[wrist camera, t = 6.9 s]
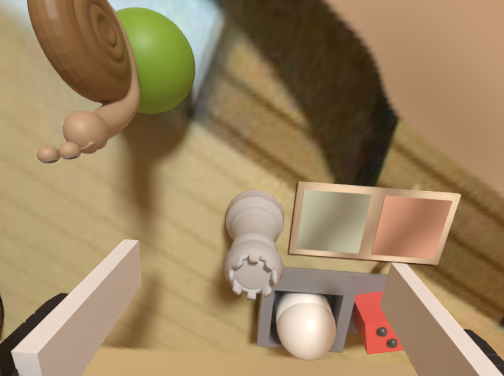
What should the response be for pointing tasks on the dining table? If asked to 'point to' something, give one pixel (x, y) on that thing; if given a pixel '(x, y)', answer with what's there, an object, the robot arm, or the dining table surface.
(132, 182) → the dining table surface
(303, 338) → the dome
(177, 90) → the snail figurine
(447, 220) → the wooden double picture frame
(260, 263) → the rook chess piece
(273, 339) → the grey compartment tray
